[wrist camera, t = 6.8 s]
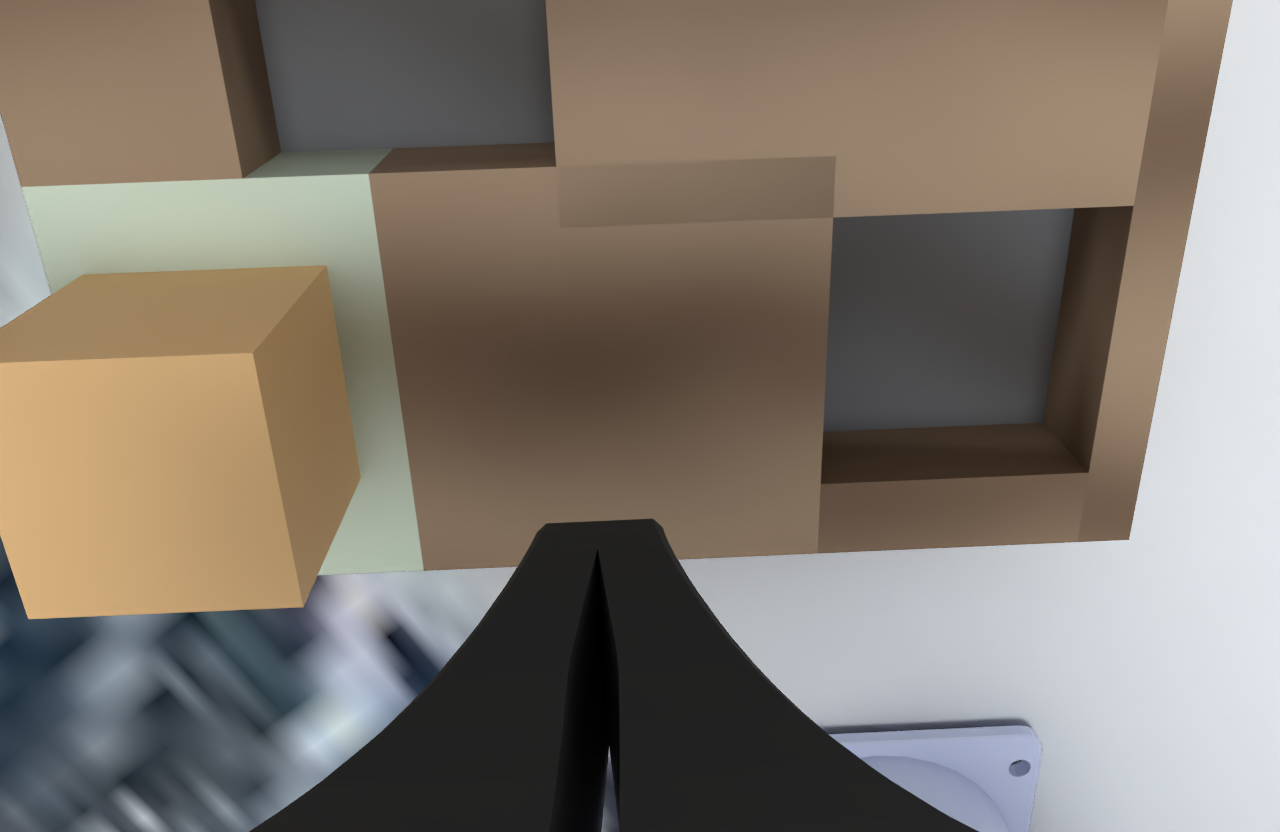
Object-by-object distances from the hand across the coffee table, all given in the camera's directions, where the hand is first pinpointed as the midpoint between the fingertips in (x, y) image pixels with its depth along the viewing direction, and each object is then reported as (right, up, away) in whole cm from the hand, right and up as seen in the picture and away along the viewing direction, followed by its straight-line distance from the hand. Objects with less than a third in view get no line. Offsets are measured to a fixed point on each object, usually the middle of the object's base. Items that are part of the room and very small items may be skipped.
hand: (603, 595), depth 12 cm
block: (-7, +3, +6) cm, 9 cm away
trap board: (0, +7, +7) cm, 10 cm away
